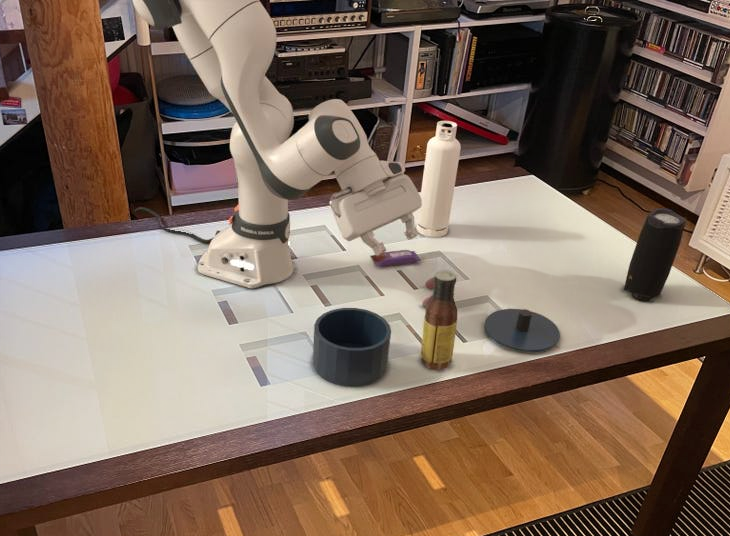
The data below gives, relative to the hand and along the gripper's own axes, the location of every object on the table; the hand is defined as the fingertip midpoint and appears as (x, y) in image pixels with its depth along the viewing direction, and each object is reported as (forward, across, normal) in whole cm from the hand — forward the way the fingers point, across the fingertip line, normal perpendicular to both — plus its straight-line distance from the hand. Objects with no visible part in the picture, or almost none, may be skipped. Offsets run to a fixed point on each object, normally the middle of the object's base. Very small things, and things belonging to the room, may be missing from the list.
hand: (397, 245), depth 146 cm
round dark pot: (+16, -13, +14) cm, 25 cm away
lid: (+28, +22, +2) cm, 36 cm away
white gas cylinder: (-2, +46, +33) cm, 57 cm away
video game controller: (+14, +20, +17) cm, 29 cm away
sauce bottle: (+24, 0, +7) cm, 25 cm away
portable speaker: (+35, +58, -4) cm, 68 cm away
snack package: (+1, +26, +29) cm, 39 cm away
